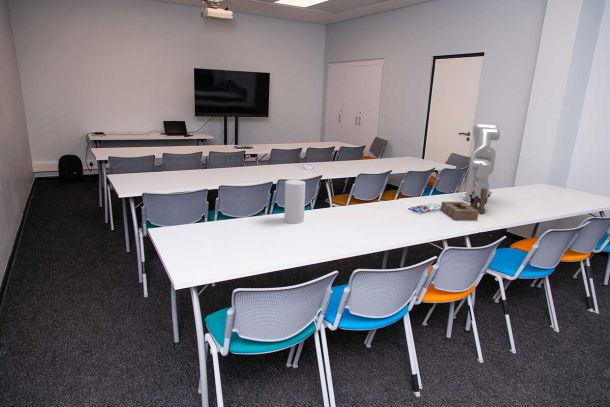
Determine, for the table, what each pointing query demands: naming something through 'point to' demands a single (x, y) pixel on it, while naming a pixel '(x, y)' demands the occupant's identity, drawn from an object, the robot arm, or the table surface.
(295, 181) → the cylinder
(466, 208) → the end cap block
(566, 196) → the table surface
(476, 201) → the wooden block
